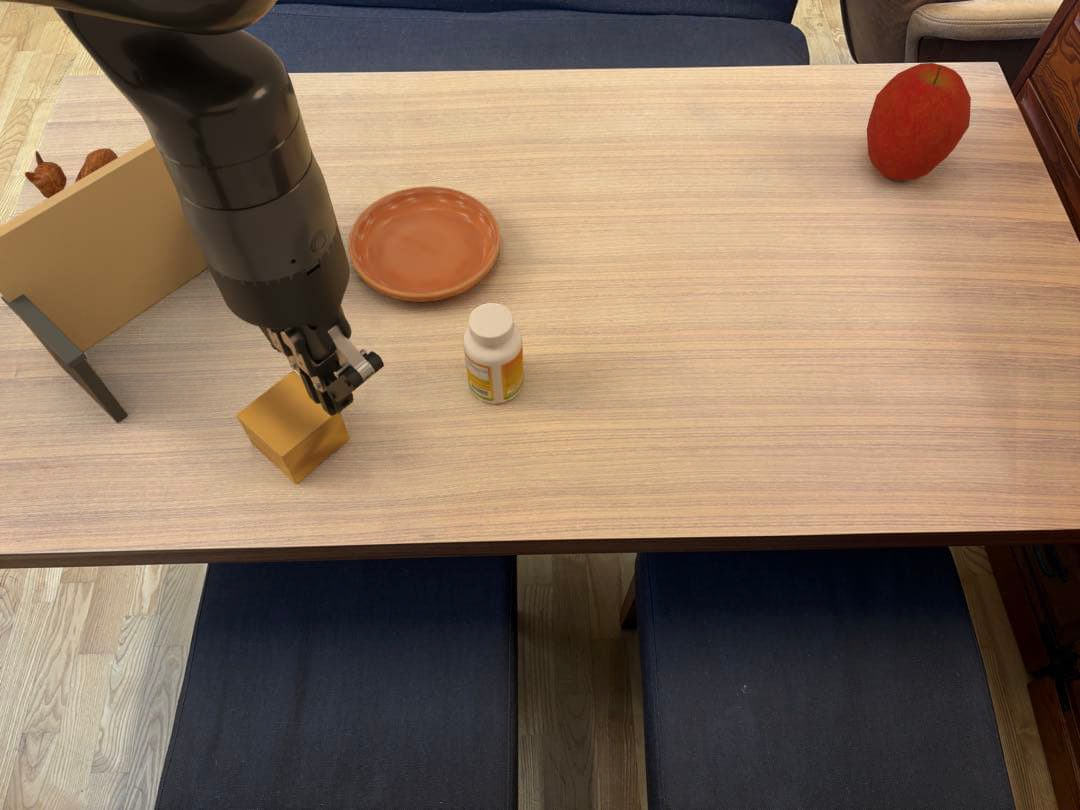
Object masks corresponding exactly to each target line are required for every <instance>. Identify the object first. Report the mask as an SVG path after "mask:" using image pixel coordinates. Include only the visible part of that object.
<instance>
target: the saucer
mask: <svg viewBox="0 0 1080 810" xmlns="http://www.w3.org/2000/svg"><path fill="white" fill-rule="evenodd" d="M493 214H494V213H492V211H491V210H490V209H489V208H488V207H487V206H486V205H485V204H484V203H483V202H481V201H480V200H479V199H477V198H476V197H474V196H472V195H471V194H468V193H466V192H464V191H461V190H459V189H458V190H457V189H454V188H449V187H443V186H433V185H431V186H427V185H426V186H415V187H409V188H404V189H401V190H397V191H394V192H391V193H389V194H386V195H385V196H383V197H381V198H379V199H377V200H375V201H374V202H372V203H371V204H369V205H368V206H367V207H366V208H365V209H364V210H363V211H362V212H361V213H360V214H359V216H358V217H357V218H356V219H355V221H354V222H353V225H352V227H351V229H350V232H349V236H348V242H347V243H348V244H347V250H348V255H349V258H350V262H351V264H352V267H353V268H354V270H355V271H356V273H357V275H358V276H359V278H360V279H361V280H362V281H363V282H364V283H365V284H366V285H368V286H369V287H370V288H372V289H374V291H376V292H378V293H380V294H382V295H384V296H387V297H389V298H392V299H395V300H399V301H405V302H412V303H413V302H418V303H420V302H421V303H422V302H423V303H425V302H427V303H428V302H435V301H440V300H441V301H442V300H445V299H449V298H452V297H455V296H457V295H460V294H462V293H464V292H466V291H467V290H469V289H471V288H472V287H474V286H475V285H477V284H478V283H480V281H481V280H483V278H485V277H486V276H487V274H488V273H489V272H490V270H491V269H492V268H493V266H494V264H495V263H496V260H497V258H498V254H499V250H500V245H501V244H500V243H501V233H500V228H499V225H498V221H497V220H496V218H495V216H494V215H493Z"/></svg>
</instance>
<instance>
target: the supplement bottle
mask: <svg viewBox="0 0 1080 810" xmlns="http://www.w3.org/2000/svg"><path fill="white" fill-rule="evenodd" d="M514 320H515V319H514V316H513V312H511V310H510V309H509V308H508V307H507V306H505V305H504V304H501V303H497V302H487V303H483V304H481V305H478V306H477V307H475V308H474V309H472V311H471V312H470V314H469V317H468V326H467V328H466V329H465V331H464V335H463V339H462V340H463V341H462V342H463V343H462V346H463V352H464V359H465V367H466V375H467V382H468V386H469V389H470V391H471V393H472V394H473V395H474V396H475V397H476V398H477V399H478V400H480V401H482V402H484V403H487V404H494V405H498V404H503V403H506V402H509V401H511V400H513V399H514V398H515V397H516V396H518V395H519V393H520V392H521V390H522V388H523V385H524V377H525V376H524V352H523V351H524V349H523V346H524V345H523V336H522V333H521V331H520V328H519V327H518V326H517V324H516V323H515V321H514Z"/></svg>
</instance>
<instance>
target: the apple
mask: <svg viewBox="0 0 1080 810" xmlns="http://www.w3.org/2000/svg"><path fill="white" fill-rule="evenodd" d="M971 102H972V98H971V95H970V92H969V90H968V88H967V86H966V84H965V82H964V79H963V77H962V76H961V75H960V74H959V73H958V72H957V71H956V70H955V69H953V68H950V67H948V66H946V65H944V64H938V63H934V62H923V63H918V64H916V65H913V66H911V67H909V68H907V69H904V70H902V71H900V72H898V73H897V74H896V75H894V76H893V77H892V78H891V79H890V80H889V81H888V82H887V83H886V84H885V85H884V86H883V88H881V90H880V91H879V92H878V93H877V94H876V96H875V98H874V101H873V105H872V109H871V111H870V115H869V117H868V122H867V126H866V142H867V156H868V159H869V160H870V164H871V165H872V166H873V167H874V168H875V169H876V170H877V171H878V172H879V173H880V175H882V176H883V178H886V179H888V180H891V181H900V182H901V181H903V182H905V181H913V180H918V179H920V178H923V177H924V176H927V175H928V174H929V173H930V172H932V171H933V170H934V169H935V168H937V166H939V164H941V163H942V162H943V161H944V160H945V159H946V158H947V157H948V156H950V154H951V153H952V152H953V151H954V150H955V149H956V148H957V146H958V144H959V143H960V141H961V139H962V138H963V137H964V135H965V134H966V132H967V131H968V129H969V127H970V121H971V105H972V104H971Z"/></svg>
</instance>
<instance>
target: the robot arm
mask: <svg viewBox="0 0 1080 810" xmlns="http://www.w3.org/2000/svg"><path fill="white" fill-rule="evenodd" d="M0 2H2V3H14V4H25V5H33V6H34V5H35V6H42V7H49V8H52V9H53V10H54V11H55V13H56V14H57V15H58V17H59V18H60V19H61V21H62V22H63V23H64V24H65V26H66V27H67V28H68V30H69V31H70V32H71V33H72V35H73V36H74V38H75V39H76V40H77V41H78V42H79V43H80V45H81V46H82V48H84V50H85V51H86V52H87V53H88V55H89V56H90V57H91V58H92V60H93V61H94V62H95V63H96V65H97V66H98V67H99V68H100V70H101V71H102V72H103V74H104V75H105V76H106V77H107V79H108V80H109V82H111V83H112V85H113V86H114V87H115V88H116V89H117V90H118V91H119V92H120V93H121V94H122V95H123V97H124V98H125V99H126V100H127V101H128V102H129V103H130V104H131V106H132V107H133V108H134V109H135V110H136V111H137V113H138V114H139V115H140V116H141V118H142V119H143V121H144V123H145V126H146V127H147V129H148V132H149V134H150V138H152V140H153V142H154V144H155V146H156V148H157V150H158V152H159V155H160V157H161V159H162V161H163V163H164V165H165V167H166V169H167V171H168V173H169V175H170V177H171V180H172V182H173V184H174V186H175V188H176V191H177V193H178V196H179V200H180V203H181V207H182V210H183V214H184V217H185V219H186V222H187V224H188V226H189V228H190V230H191V232H192V235H193V237H194V239H195V241H196V243H197V245H198V247H199V249H200V251H201V253H202V255H203V257H204V259H205V261H206V263H207V265H208V269H209V271H210V274H211V276H212V278H213V280H214V281H215V284H216V286H217V288H218V290H219V293H220V294H221V296H222V298H223V300H224V302H225V304H226V306H227V307H228V309H229V310H230V311H231V312H232V313H233V314H234V315H235V316H236V317H237V318H239V319H240V320H242V321H244V322H246V323H247V324H250V325H252V326H255V327H258V329H260V331H261V332H262V334H263V335H264V336H265V337H266V339H267V341H268V342H269V343H270V346H271V348H272V349H273V350H275V351H277V352H278V353H282V354H283V355H284V356H285V357H286V359H287V361H288V363H289V366H290V367H291V368H292V370H293V371H295V372H296V373H299V374H298V375H299V376H300V377H301V378H302V381H303V383H304V386H305V388H306V390H307V393H308V395H309V397H310V398H311V399H312V400H313V401H314V402H315V403H316V404H320V403H321V405H322V407H323V410H324V411H326V412H327V413H328V414H329V415H330V416H333V415H335V414H339V413H342V411H344V410H345V409H346V408H348V406H350V405H351V404H353V403H354V395H353V394H354V393H353V392H354V391H356V390H357V389H358V388H359V387H361V386H362V385H363V384H365V382H366V381H368V380H369V379H370V378H371V377H373V376H374V375H375V374H377V373H378V372H379V371H380V370H382V369H383V368H384V367H385V364H384V361H383V359H382V357H381V356H380V355H379V354H377V352H375V351H373V350H370V351H369V352H367V350H365V349H363V348H362V349H361V350H358V348H357V347H356V346H355V345H354V344H353V342H351V340H350V339H351V337H352V327H351V325H350V323H349V321H348V319H347V318H346V316H345V312H344V308H343V306H342V302H343V299H344V297H345V293H346V291H347V288H348V286H349V283H350V282H349V281H350V275H351V274H350V273H351V270H350V263H349V259H348V256H347V255H348V254H347V252H346V249H345V245H344V242H343V238H342V235H341V231H340V227H339V223H338V221H337V216H336V213H335V209H334V206H333V203H332V199H331V195H330V191H329V189H328V185H327V183H326V179H325V177H324V176H325V175H324V174H323V172H322V170H321V167H320V165H319V162H318V161H317V159H316V157H315V155H314V152H313V149H312V147H311V144H310V140H309V136H308V133H307V129H306V126H305V123H304V120H303V116H302V112H301V108H300V106H299V102H298V98H297V95H296V92H295V88H294V85H293V82H292V80H291V77H290V74H289V72H288V70H287V68H286V66H285V64H284V63H283V61H282V60H281V58H280V57H279V55H278V54H277V53H276V52H275V51H274V50H273V49H272V48H271V47H270V46H268V44H266V43H264V41H261V40H260V39H259V38H257V37H255V36H253V35H252V34H250V33H249V32H247V31H245V30H244V29H245V28H246V29H247V28H248V27H250V26H252V25H254V24H255V23H257V22H258V21H260V20H261V19H262V18H263V17H264V16H266V15H267V14H268V12H270V11H271V10H272V9H273V7H274V6H275V5H276V3H277V2H278V0H0Z"/></svg>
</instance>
